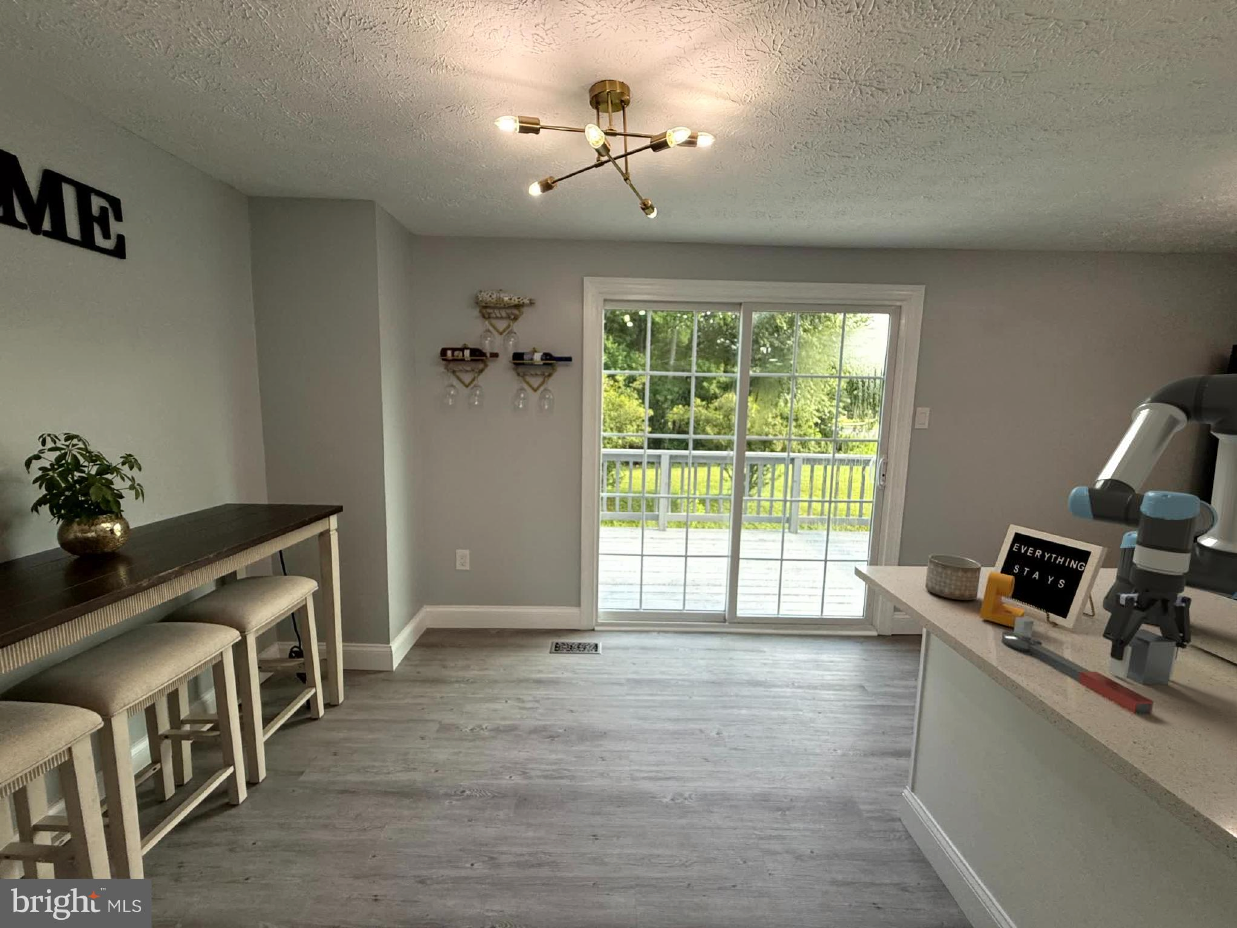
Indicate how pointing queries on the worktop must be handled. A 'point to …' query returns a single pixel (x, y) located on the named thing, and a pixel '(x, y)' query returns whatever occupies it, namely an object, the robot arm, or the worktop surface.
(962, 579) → the planter
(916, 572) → the worktop surface
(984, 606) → the bracket
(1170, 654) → the gray rectangular block
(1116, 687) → the ratchet
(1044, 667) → the worktop surface
